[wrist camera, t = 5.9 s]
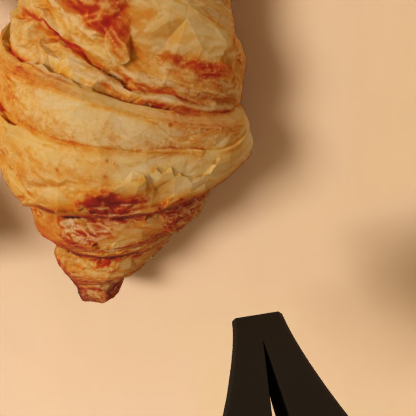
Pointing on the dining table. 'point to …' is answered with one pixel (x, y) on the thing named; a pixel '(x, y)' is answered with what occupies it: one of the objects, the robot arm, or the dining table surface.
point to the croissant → (118, 125)
